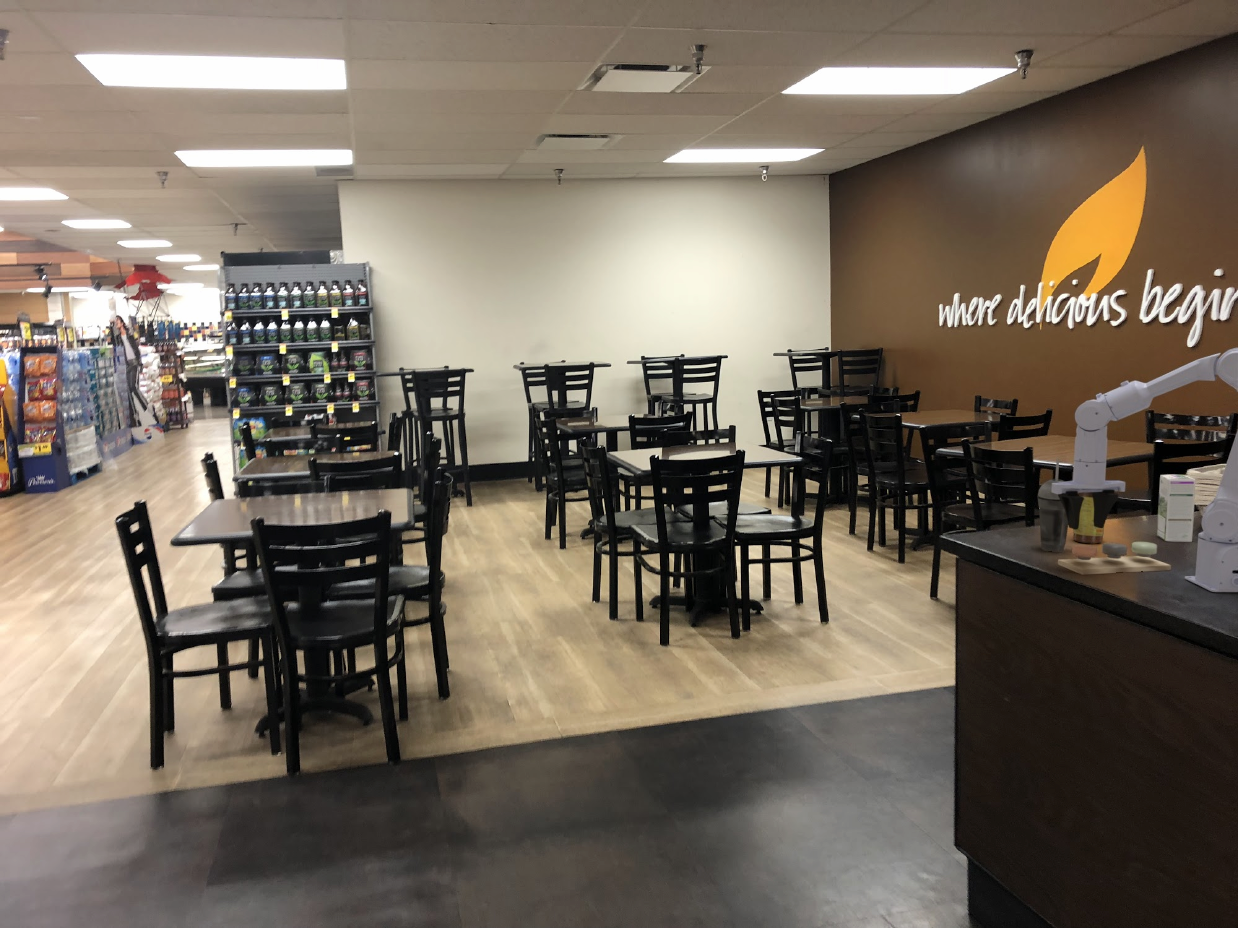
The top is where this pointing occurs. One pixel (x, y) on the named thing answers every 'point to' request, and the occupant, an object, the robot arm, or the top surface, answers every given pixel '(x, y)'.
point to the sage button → (1144, 548)
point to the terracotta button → (1084, 551)
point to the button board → (1114, 565)
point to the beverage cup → (1052, 517)
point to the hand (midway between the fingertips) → (1085, 527)
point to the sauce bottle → (1087, 522)
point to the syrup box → (1176, 508)
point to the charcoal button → (1114, 550)
